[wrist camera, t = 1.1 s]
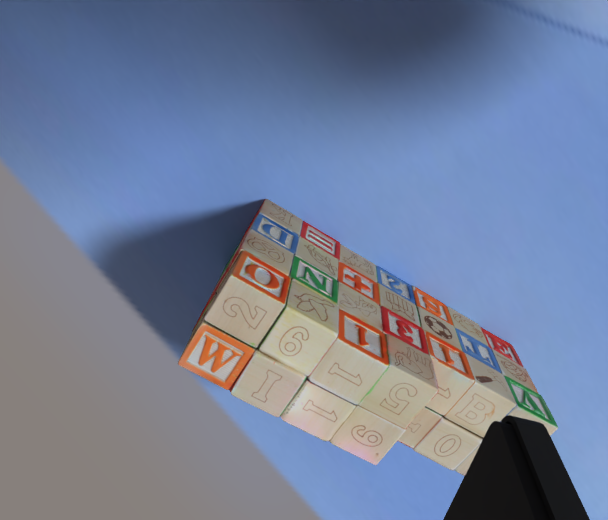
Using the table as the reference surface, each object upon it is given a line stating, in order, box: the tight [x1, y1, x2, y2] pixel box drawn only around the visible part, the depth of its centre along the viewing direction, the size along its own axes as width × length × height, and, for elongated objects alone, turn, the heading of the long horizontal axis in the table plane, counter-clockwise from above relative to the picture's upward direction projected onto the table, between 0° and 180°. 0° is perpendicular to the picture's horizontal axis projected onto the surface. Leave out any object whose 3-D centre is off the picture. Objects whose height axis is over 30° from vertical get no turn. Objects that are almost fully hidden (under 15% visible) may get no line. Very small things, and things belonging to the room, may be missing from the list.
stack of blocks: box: [178, 199, 558, 476], centre depth 34 cm, size 21×6×12 cm, turn 59°
